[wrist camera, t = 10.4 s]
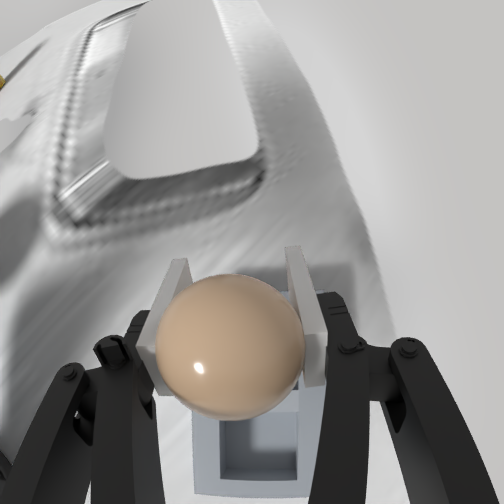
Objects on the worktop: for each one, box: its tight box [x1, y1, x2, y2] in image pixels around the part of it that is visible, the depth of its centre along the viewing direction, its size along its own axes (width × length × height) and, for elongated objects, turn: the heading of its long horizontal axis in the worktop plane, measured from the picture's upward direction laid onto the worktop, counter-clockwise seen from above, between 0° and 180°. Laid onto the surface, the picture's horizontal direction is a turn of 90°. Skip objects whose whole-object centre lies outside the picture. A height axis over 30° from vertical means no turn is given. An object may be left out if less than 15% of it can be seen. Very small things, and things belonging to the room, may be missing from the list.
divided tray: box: [192, 290, 326, 498], centre depth 28 cm, size 12×20×4 cm, turn 0°
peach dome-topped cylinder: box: [155, 274, 306, 421], centre depth 13 cm, size 5×5×11 cm
